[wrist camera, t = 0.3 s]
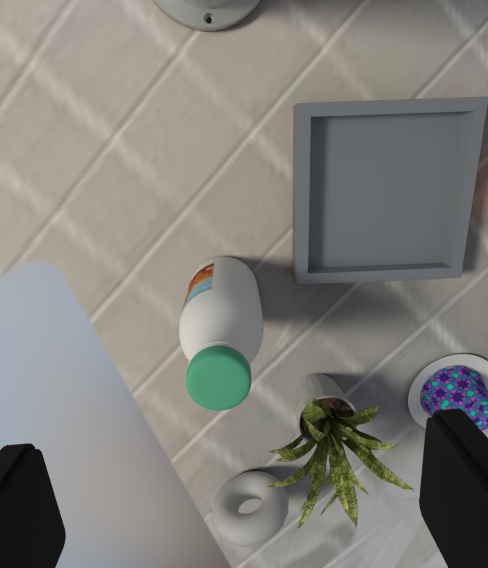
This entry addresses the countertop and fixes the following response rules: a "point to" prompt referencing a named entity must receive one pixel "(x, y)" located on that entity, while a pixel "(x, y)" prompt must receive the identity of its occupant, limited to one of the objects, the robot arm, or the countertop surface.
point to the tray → (384, 188)
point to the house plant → (332, 443)
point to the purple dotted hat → (452, 389)
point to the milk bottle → (221, 332)
